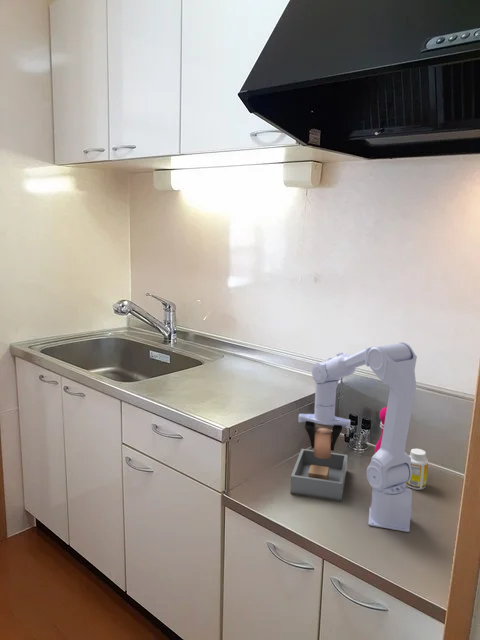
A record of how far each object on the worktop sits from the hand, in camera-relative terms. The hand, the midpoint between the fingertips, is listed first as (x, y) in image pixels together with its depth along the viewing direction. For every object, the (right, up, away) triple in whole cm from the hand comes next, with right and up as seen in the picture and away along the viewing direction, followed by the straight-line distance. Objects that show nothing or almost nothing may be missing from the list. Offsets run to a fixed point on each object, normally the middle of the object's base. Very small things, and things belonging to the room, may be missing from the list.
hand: (322, 448), depth 144 cm
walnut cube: (-2, -9, -6) cm, 11 cm away
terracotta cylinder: (0, -2, 0) cm, 2 cm away
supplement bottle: (+25, -10, -4) cm, 27 cm away
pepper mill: (+21, -8, +8) cm, 23 cm away
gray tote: (-1, -9, -2) cm, 9 cm away
